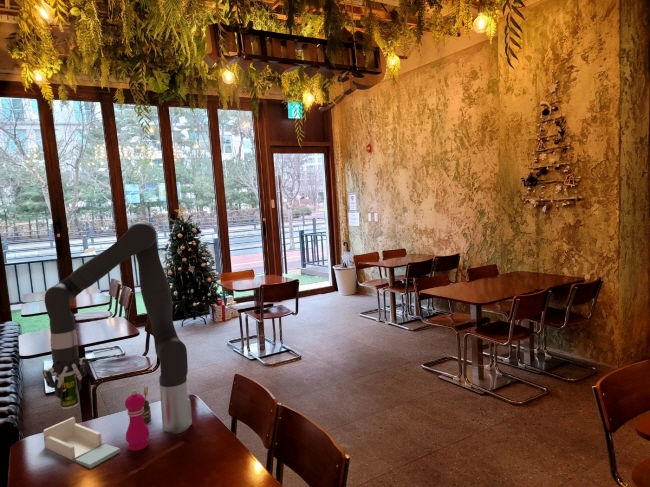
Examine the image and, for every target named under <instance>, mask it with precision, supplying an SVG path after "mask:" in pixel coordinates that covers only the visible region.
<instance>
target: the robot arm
mask: <svg viewBox="0 0 650 487" xmlns="http://www.w3.org/2000/svg"><path fill="white" fill-rule="evenodd" d="M157 240H158V238H157V231H156V229H155V227H154V226H153V225H152V224H151V223H149V222H147V221H142V220H139V221H136V222H134V223H132V224H131V225H130V226H129V227H128V228H127V230H126V232H125V233H124V234H123V235H122V236H121V237H120V238H119V239H117V241H115V242H114V243H113V244H112V245H110V246H109V247H108V248H106V249H104V250H103V251H102V252H100V253H99V254H97V255H95V256H94V257H92V258H90V259H89V260H87V261H86V262H84V263H83V264H82V265H80V266H79V267H77V268H76V269H75V270H73V272H71V274H70V275H68V276H67V277H65V278H64V279H62V280H61V281H59V282H58V283H56V284H54V285H53V286H51V287H49V288H48V289H47V290H46V291H45V294H44V305H45V310H46V313H47V317H48V319H49V331H50V341H49V342H50V351H51V359H52V365H51V367H50V368H48V369H43V370H42V375H43V378H44V380H45V382H46V385H47V387H49V388H50V389H51V388H52V389H54V395H55V398H56V397H57V399H60V398H63V395H62V387H61V385H62V381H63V380H64V375H65V374H63V373H66V372H70V371H71V370H75V372H76V375H77V385H78V392H80V391H81V390H82V388H83V386H82V379H83V378H84V377H87V375H88V367H89V358H87V357H82V358H80V357H79V344H78V334H77V330H76V322H75V315H74V314H73V312H72V311H71V305H70V304H71V303H70V302H71V301H72V300H74V299H75V298H76V297H77V296H79V295H80V294H81V293H82V292H83V291H84V290H87V289H88V288H90V287H92V286H94V284H96V283H97V282H99V281H100V280H101V279H103V277H105V276H106V275H108V273H110V272H111V271H112V270H114V269H115V268H116V267H117V266H119V265H120V264H121V263H123V262H124V261H126V260H128V259H129V258H130V257H132V256H134V255H135V257H136V261H137V266H138V267H137V268H138V279H139V280H138V281H139V289H140V293H141V297H142V301H143V304H144V305H143V306H144V307H145V311H146V313H147V317H148V319H149V322H150V325H151V330H152V334H153V341H154V349H155V354H156V356H157V358H158V359H159V362H160V363H159V364H160V366H159V367H160V375H159V380H158V382H159V392H160V393H159V394H160V395H159V396H160V407H161V409H160V410H161V422H162V430H163V431H164V432H167V433H170V434H172V435H177V434H180V433H183V432H186V431H187V430H188V429H189V428H190V426H191V425H192V424H193V421H192V418H193V417H192V406H191V405H192V404H191V403H192V402H191V398H189V393H188V380H187V378H188V372H189V370H188V367H189V366H188V364H189V363H188V351H187V350H188V349H187V346H186V345H185V343H184V342H183V341H181V339H180V338H179V336H178V333H177V331H176V328H175V325H174V324H175V323H174V320H173V298H172V293H171V288H170V285H169V281H168V279H167V276H166V273H165V269H164V267H163V264H162V262H161V259H160V254H159V248H158V241H157ZM78 366H80V367H79V369H78ZM54 372H55V374H54ZM53 375H54V378H53ZM58 375H60V377H58Z"/></svg>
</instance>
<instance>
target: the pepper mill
mask: <svg viewBox="0 0 650 487" xmlns="http://www.w3.org/2000/svg"><path fill="white" fill-rule="evenodd" d="M144 403H145V396H144V394H141V393H138V391H137V390H136V389H132V390H131V392H130V394H129V396H127V397H126V399H125V401H124V406H125V408H126V409H127V410H126V412H127V416H128V418H129V423H128V427H127V430H126V433H125V441H126V442H127V443H128V445H127V448H128V450H129V451H139V450H142V449H145V448H146V447H147V446H148V445H149V440H148V438H149V436H150V430H149V428H148V426H147V423H145V422H144V420H143V412H144V407H143V405H144Z"/></svg>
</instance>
